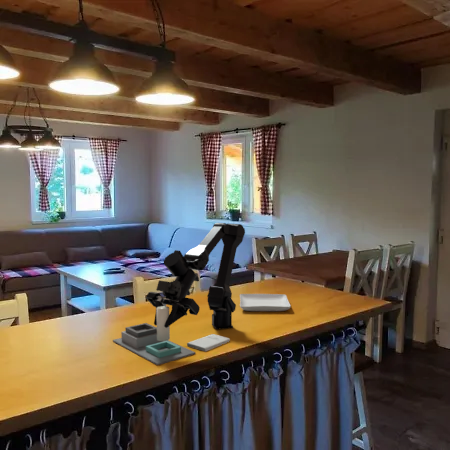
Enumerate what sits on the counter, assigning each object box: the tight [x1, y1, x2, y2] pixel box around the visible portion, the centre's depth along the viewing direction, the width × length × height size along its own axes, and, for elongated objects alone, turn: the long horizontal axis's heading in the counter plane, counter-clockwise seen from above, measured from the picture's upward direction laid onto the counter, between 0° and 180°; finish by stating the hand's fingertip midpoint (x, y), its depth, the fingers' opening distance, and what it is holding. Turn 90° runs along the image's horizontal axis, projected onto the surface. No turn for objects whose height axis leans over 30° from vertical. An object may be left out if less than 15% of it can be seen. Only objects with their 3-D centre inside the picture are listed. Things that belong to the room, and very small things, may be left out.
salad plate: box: [239, 293, 292, 312], centre depth 204 cm, size 21×21×3 cm
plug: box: [155, 305, 171, 341], centre depth 147 cm, size 4×4×10 cm
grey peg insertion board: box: [112, 322, 196, 366], centre depth 153 cm, size 28×14×5 cm, turn 41°
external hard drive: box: [186, 333, 231, 352], centre depth 156 cm, size 2×8×12 cm
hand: (160, 325), depth 146 cm, fingers closed on plug, 4 cm apart
